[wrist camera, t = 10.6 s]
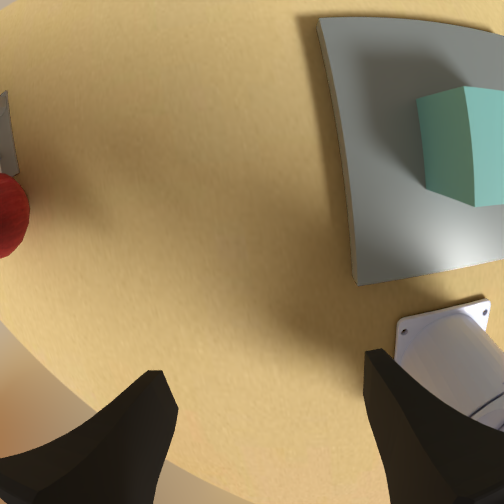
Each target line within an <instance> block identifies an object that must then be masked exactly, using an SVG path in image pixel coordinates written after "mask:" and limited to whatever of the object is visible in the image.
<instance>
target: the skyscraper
mask: <svg viewBox="0 0 504 504" xmlns="http://www.w3.org/2000/svg"><path fill="white" fill-rule="evenodd" d="M0 173H5V174H7V175H9V176H11V177H13V176H14V175H16V174H18V173H20V171H19V166H18V162H17V157H16V151H15V146H14V140H13V134H12V127H11V120H10V112H9V103H8V92H7V90H6V91H5V92H3V93H2V94H1V95H0Z"/></svg>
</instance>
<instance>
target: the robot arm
mask: <svg viewBox="0 0 504 504" xmlns="http://www.w3.org/2000/svg"><path fill="white" fill-rule="evenodd" d="M490 306H491V302H490V301H489V300H488V299H487V298H486V299H481V300H477V301H474V302H470V303H466V304H462V305H458V306H453V307H449V308H445V309H441V310H436V311H432V312H427V313H423V314H418V315H413V316H408V317H404V318H401V319H400V320H399V321H398V323H397V331H396V345H395V356H394V359H393V358H392V357H391V356H390V355H389V354H388V353H386V352H385V351H384V350H383V349H382V348H381V349H376V350H371V351H365V363H364V386H363V396H364V401H365V406H366V411H367V415H368V419H369V422H370V425H371V428H372V431H373V434H374V437H375V440H376V443H377V447H378V450H379V453H380V456H381V459H382V462H383V465H384V469H385V473H386V477H387V483H388V489H389V495H390V502H391V504H504V352H503V351H502V350H501V349H500V348H499V347H498V346H497V344H496V343H495V342H494V341H493V340H492V339H491V338H490V337H489V335H488V334H487V333H486V332H485V331H486V327H487V322H488V317H489V311H490ZM484 310H485V311H484ZM483 311H484V312H483ZM404 329H406V331H405V332H403V333H401V332H402V331H403V330H404ZM178 409H179V408H178V406H177V404H176V402H175V399H174V397H173V395H172V393H171V390H170V388H169V386H168V383H167V381H166V378H165V376H164V374H163V371H162V370H148V371H147V372H145V373H144V374H143V375H142V376H140V377H139V378H138V379H137V380H136V381H135V382H133V383H132V384H131V385H130V386H129V387H128V388H127V389H126V390H124V391H123V392H122V393H121V394H120V395H119V396H117V397H116V398H115V399H114V400H113V401H112V402H111V403H109V404H108V405H107V406H106V407H104V408H103V409H102V410H100V411H99V412H98V413H97V414H95V415H94V416H93V417H92V418H90V419H89V420H88V421H86V422H85V423H83V424H82V425H80V426H78V427H77V428H75V429H74V430H72V431H70V432H69V433H67V434H65V435H63V436H61V437H59V438H57V439H55V440H53V441H51V442H50V443H47V444H45V445H43V446H40V447H38V448H35V449H32V450H30V451H27V452H24V453H21V454H17V455H13V456H9V457H5V458H0V498H1V499H2V500H3V501H4V502H6V503H7V504H153V500H154V495H155V490H156V485H157V482H158V478H159V475H160V472H161V469H162V466H163V463H164V461H165V458H166V455H167V452H168V449H169V446H170V443H171V440H172V437H173V434H174V431H175V426H176V421H177V415H178Z"/></svg>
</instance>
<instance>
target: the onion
mask: <svg viewBox="0 0 504 504" xmlns="http://www.w3.org/2000/svg"><path fill="white" fill-rule="evenodd" d="M29 214H30V207H29V202H28V198H27V196H26V194H25V192H24V190H23V188H22V187H21V185H20V184H19V183H18V182H17V181H16V180H15V179H14V178H13V177H11V176H9V175H7V174H5V173H0V259H1V258H3V257H6V256H9V255H10V254H11V253H12V252H13V251H14V250H15V249H16V248H17V247H18V245H19V244H20V243H21V242H22V240H23V238H24V235H25V233H26V230H27V227H28V224H29Z"/></svg>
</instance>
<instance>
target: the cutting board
mask: <svg viewBox="0 0 504 504" xmlns="http://www.w3.org/2000/svg"><path fill="white" fill-rule="evenodd" d="M316 30H317V34H318V38H319V42H320V46H321V51H322V55H323V60H324V64H325V69H326V74H327V79H328V84H329V89H330V94H331V99H332V105H333V110H334V116H335V122H336V128H337V134H338V141H339V148H340V154H341V162H342V169H343V177H344V185H345V194H346V203H347V213H348V224H349V235H350V248H351V263H352V276H353V278H354V280H355V282H356V284H357V286H363V285H369V284H375V283H381V282H387V281H393V280H399V279H405V278H410V277H416V276H421V275H427V274H432V273H438V272H443V271H448V270H453V269H458V268H463V267H468V266H473V265H478V264H483V263H487V262H492V261H496V260H501V259H504V204H501V205H491V206H482V207H473V206H470V205H468V204H465V203H463V202H460V201H457V200H455V199H452V198H449V197H446V196H444V195H441V194H438V193H435V192H432V191H430V190H427V189H426V181H425V168H424V156H423V147H422V138H421V130H420V123H419V116H418V109H417V103H416V99H418V98H421V97H425V96H428V95H432V94H436V93H439V92H443V91H447V90H451V89H454V88H458V87H462V86H467V87H477V88H485V89H493V90H500V91H504V36H502V35H498V34H494V33H490V32H486V31H482V30H477V29H472V28H467V27H462V26H457V25H451V24H444V23H437V22H430V21H421V20H411V19H399V18H381V17H331V18H319V20H318V23H317V26H316Z"/></svg>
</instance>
